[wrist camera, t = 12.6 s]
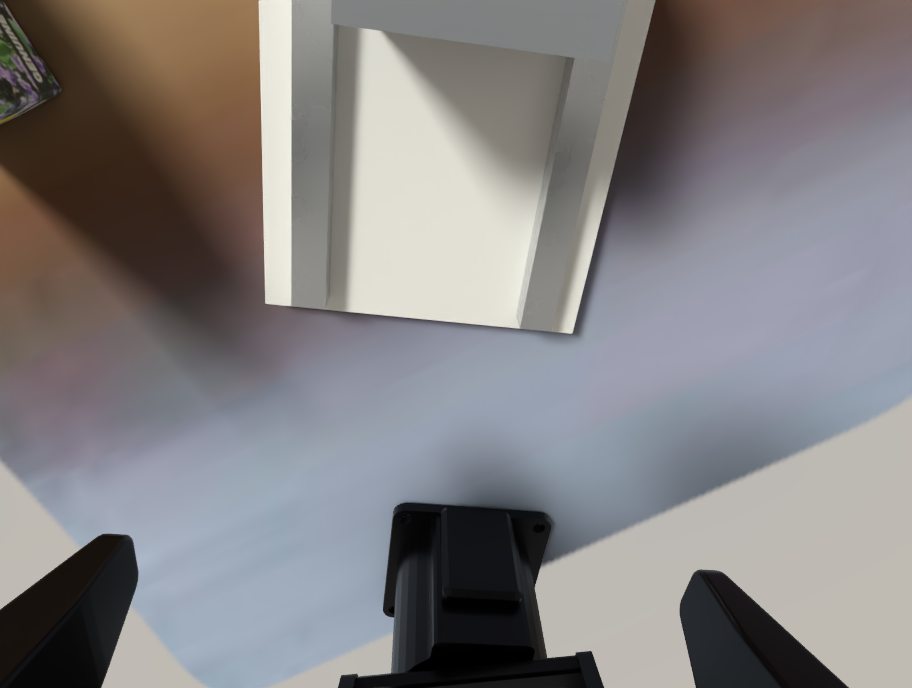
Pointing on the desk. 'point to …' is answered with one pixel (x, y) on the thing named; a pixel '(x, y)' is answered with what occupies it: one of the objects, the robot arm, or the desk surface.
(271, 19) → the rail plate
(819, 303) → the desk surface
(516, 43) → the block
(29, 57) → the ink box
